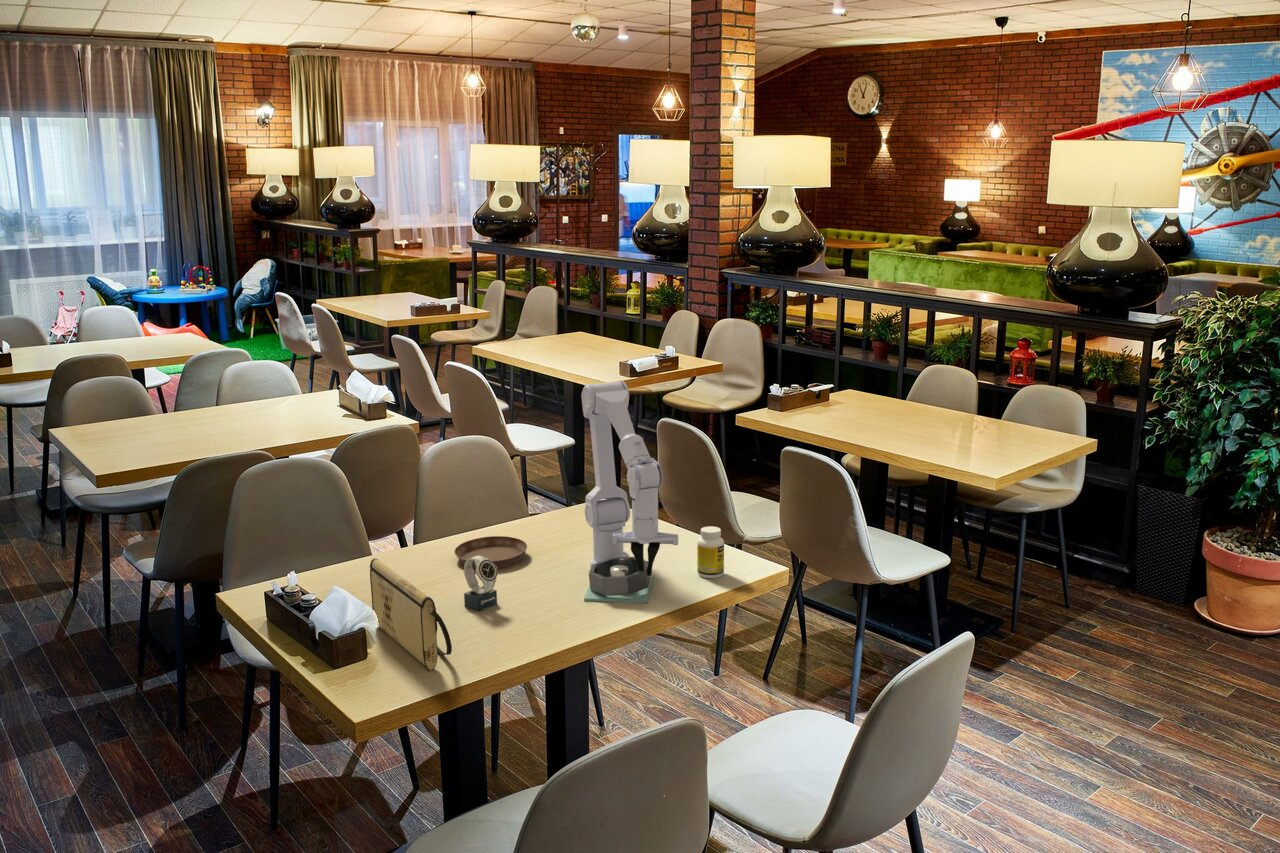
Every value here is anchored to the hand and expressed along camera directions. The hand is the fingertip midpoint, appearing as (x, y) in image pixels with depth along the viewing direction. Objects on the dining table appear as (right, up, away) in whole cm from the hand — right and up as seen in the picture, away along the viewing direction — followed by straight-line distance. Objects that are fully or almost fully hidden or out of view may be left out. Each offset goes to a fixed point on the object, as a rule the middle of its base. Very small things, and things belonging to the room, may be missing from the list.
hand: (645, 574), depth 238 cm
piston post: (-6, -4, +2) cm, 7 cm away
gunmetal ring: (-6, -2, +1) cm, 6 cm away
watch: (-36, -6, -6) cm, 37 cm away
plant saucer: (-38, 0, +23) cm, 44 cm away
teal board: (-6, -4, +2) cm, 7 cm away
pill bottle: (+15, -2, +10) cm, 18 cm away
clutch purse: (-47, -11, -25) cm, 54 cm away
